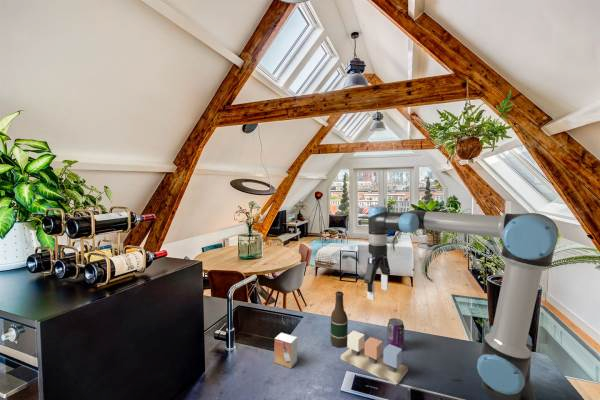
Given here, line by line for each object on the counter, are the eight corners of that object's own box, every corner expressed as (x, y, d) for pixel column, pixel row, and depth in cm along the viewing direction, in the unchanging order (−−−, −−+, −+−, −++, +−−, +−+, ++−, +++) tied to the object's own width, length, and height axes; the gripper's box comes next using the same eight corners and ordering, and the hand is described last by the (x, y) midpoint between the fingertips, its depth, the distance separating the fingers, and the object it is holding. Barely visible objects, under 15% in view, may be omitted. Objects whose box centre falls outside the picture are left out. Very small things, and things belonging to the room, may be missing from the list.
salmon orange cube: (382, 353, 115) (382, 341, 115) (376, 359, 111) (376, 346, 111) (370, 348, 119) (370, 336, 118) (364, 354, 115) (364, 342, 114)
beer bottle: (328, 346, 128) (329, 294, 127) (332, 337, 135) (332, 288, 134) (346, 349, 126) (346, 296, 124) (348, 340, 133) (349, 290, 132)
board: (407, 370, 112) (408, 357, 111) (396, 385, 103) (397, 371, 103) (353, 347, 127) (354, 335, 127) (340, 359, 119) (340, 346, 118)
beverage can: (405, 352, 123) (405, 326, 123) (388, 350, 125) (388, 324, 124) (402, 344, 130) (403, 318, 130) (386, 342, 132) (387, 317, 131)
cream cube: (364, 346, 120) (364, 334, 120) (358, 351, 116) (358, 339, 116) (353, 342, 124) (353, 330, 123) (347, 347, 120) (347, 335, 120)
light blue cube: (401, 361, 110) (402, 348, 110) (396, 368, 106) (396, 355, 106) (388, 356, 113) (389, 343, 113) (383, 362, 109) (383, 349, 109)
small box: (273, 363, 116) (273, 338, 115) (281, 355, 121) (281, 331, 120) (290, 369, 112) (291, 343, 112) (297, 361, 117) (297, 336, 117)
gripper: (381, 238, 130) (381, 284, 130) (355, 247, 110) (355, 301, 111) (397, 240, 125) (397, 287, 126) (373, 250, 105) (373, 306, 106)
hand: (377, 294), depth 118 cm, fingers open, 13 cm apart
